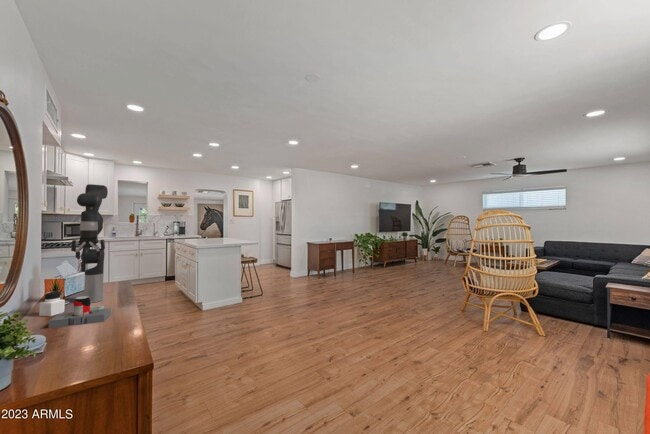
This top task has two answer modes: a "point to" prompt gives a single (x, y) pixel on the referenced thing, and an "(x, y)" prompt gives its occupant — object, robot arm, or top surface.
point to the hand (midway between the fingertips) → (88, 258)
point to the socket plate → (79, 318)
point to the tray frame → (96, 308)
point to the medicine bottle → (52, 304)
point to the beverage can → (81, 306)
